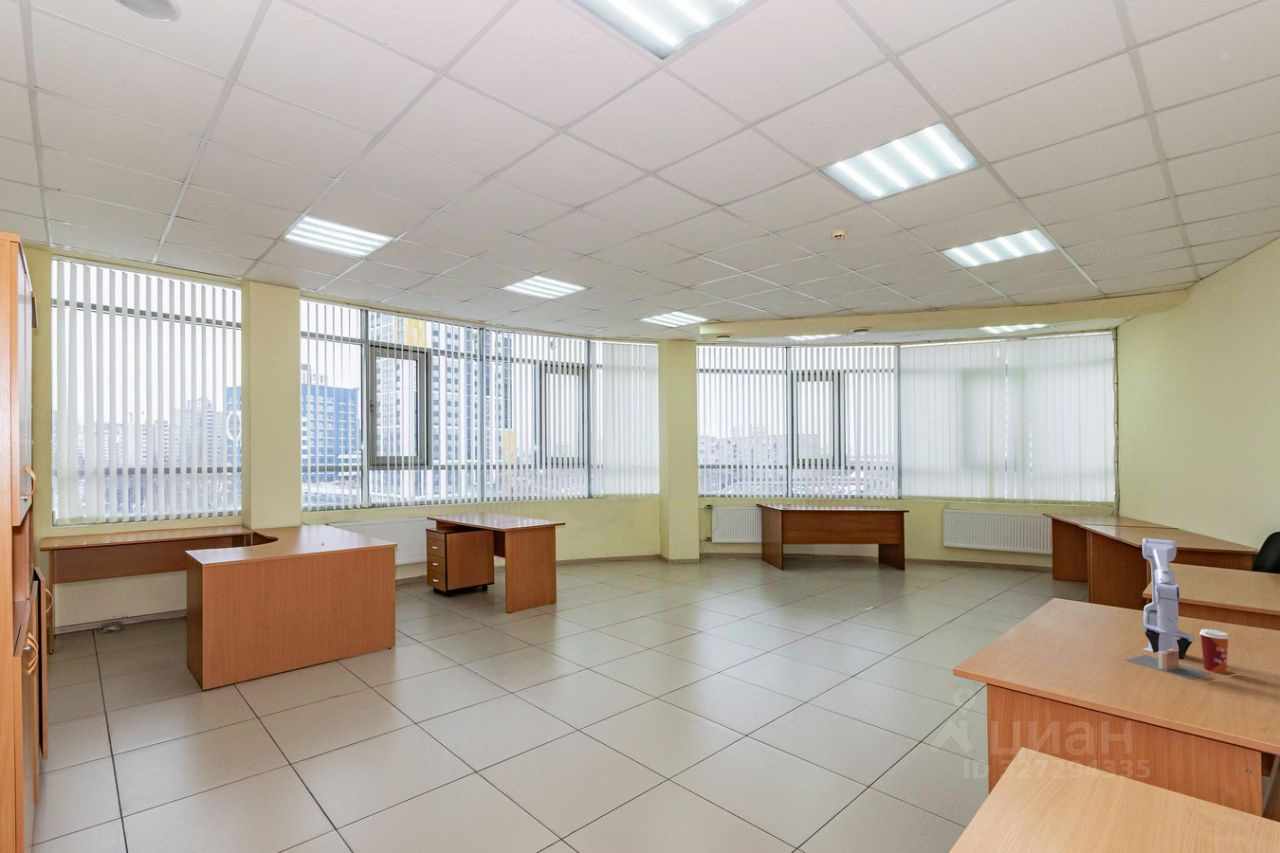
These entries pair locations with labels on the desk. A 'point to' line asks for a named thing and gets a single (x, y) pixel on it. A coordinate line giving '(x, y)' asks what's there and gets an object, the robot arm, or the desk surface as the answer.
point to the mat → (1181, 671)
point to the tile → (1168, 659)
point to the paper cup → (1214, 650)
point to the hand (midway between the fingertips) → (1168, 655)
